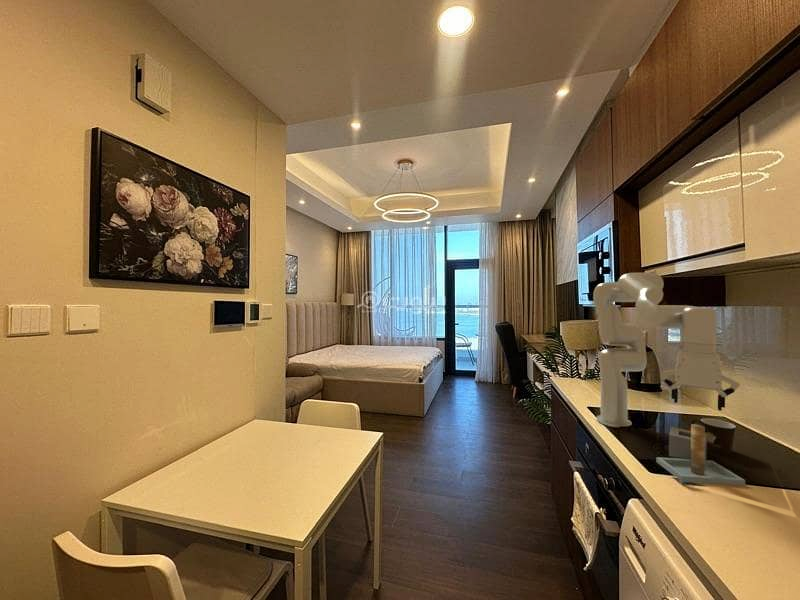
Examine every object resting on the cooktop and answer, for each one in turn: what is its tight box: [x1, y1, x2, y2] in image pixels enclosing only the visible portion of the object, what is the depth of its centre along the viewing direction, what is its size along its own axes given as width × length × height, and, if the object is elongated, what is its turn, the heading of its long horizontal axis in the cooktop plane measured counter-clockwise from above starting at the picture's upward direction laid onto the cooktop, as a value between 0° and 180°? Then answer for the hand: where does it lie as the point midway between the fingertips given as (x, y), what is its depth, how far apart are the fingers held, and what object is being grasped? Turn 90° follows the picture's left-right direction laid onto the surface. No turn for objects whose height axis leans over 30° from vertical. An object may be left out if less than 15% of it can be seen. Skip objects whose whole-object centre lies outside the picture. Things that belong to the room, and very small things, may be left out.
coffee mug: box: [691, 418, 736, 455], centre depth 113 cm, size 12×9×10 cm
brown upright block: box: [690, 423, 705, 476], centre depth 96 cm, size 3×3×14 cm
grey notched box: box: [668, 426, 707, 460], centre depth 107 cm, size 9×9×8 cm
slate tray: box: [655, 456, 746, 488], centre depth 96 cm, size 11×16×2 cm
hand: (697, 405), depth 97 cm, fingers open, 9 cm apart
